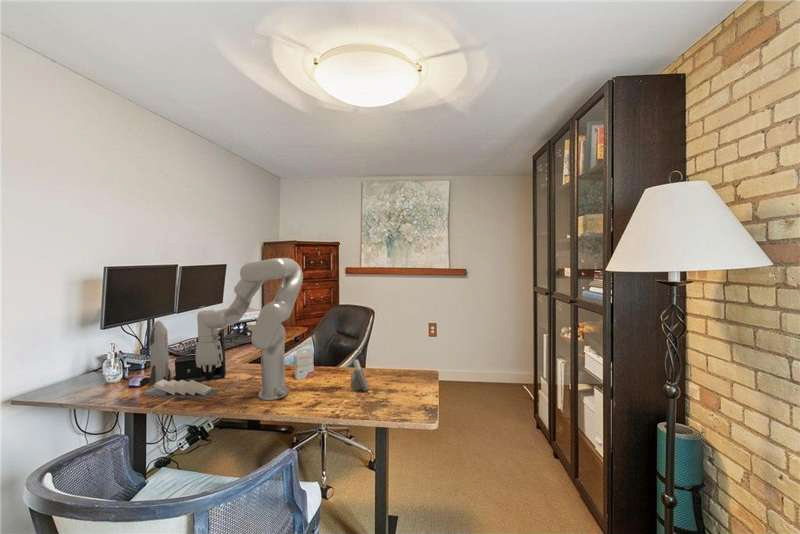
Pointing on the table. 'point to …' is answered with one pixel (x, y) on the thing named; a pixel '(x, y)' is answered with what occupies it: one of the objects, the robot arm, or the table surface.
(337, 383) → the table surface
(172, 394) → the mat
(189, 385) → the domino
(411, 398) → the table surface
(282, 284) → the robot arm
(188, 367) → the black desk organizer
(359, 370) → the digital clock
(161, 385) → the domino
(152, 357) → the rocket model
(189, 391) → the domino
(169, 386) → the domino
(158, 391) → the domino
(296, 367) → the ink cartridge box
